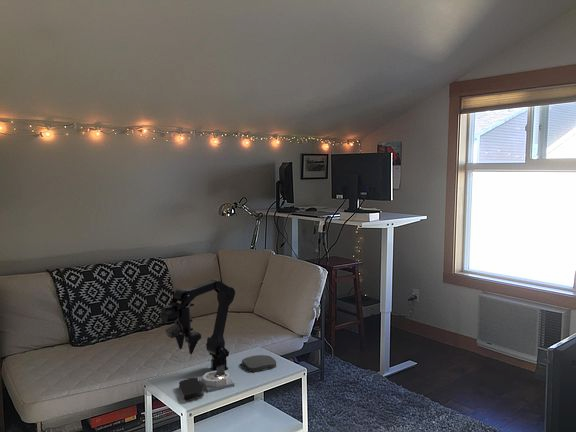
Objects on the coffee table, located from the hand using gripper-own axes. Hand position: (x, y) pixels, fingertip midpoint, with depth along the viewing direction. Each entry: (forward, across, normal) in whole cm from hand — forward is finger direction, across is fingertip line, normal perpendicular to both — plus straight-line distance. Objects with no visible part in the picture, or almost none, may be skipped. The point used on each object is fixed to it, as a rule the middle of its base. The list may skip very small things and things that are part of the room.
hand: (185, 351), depth 225 cm
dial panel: (+14, +12, +7) cm, 20 cm away
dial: (+12, +12, +7) cm, 19 cm away
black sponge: (+14, +13, -5) cm, 20 cm away
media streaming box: (+15, +8, +34) cm, 38 cm away
